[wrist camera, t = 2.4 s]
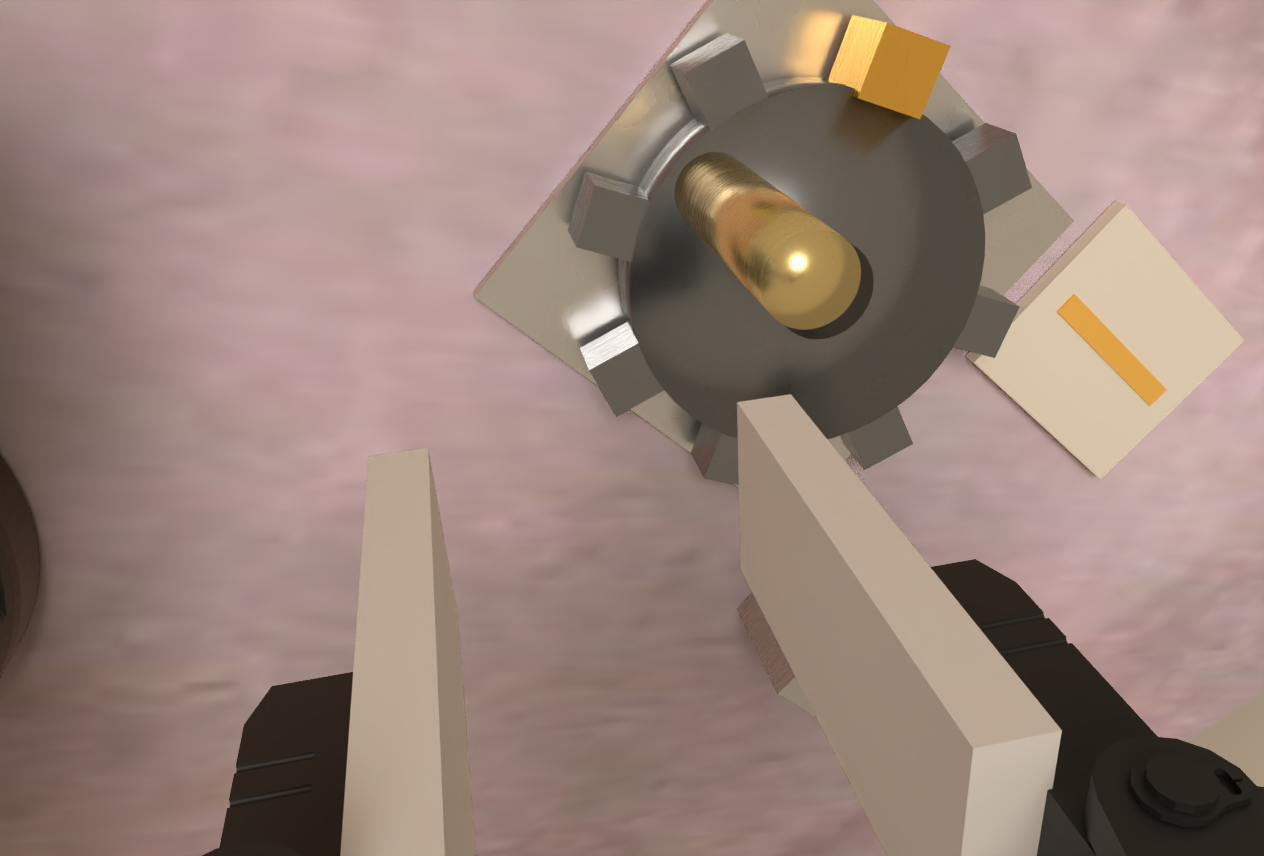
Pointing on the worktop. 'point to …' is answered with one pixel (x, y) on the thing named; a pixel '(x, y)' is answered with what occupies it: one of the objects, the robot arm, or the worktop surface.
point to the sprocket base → (780, 47)
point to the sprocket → (801, 245)
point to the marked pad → (1109, 341)
